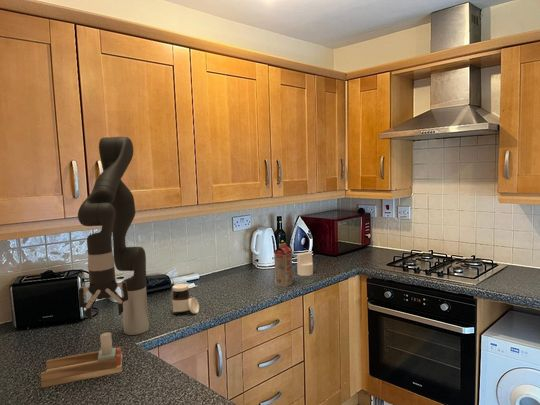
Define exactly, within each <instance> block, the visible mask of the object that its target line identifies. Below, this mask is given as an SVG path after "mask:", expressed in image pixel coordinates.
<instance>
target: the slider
mask: <svg viewBox="0 0 540 405" xmlns="http://www.w3.org/2000/svg"><path fill="white" fill-rule="evenodd" d="M99 337H100V338H99V339H100V349H99V350H98V351H99V355H98V361H103V360H109V359H114V358H116V348H117V347H113V342H112V333H111V332H103V333H101V334H100V335H99Z"/></svg>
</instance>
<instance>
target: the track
mask: <svg viewBox="0 0 540 405" xmlns="http://www.w3.org/2000/svg"><path fill="white" fill-rule="evenodd" d="M98 355H99V350H97V351H91V352H85V353H79V354H74V355H67V356H62V357H58V358H57V357H56V358H52V359H46V361H45V364H46V365H45V366H46V370H44V371H41V372H40V378H41V380H40V381H41V382H40V383H41V388H47V387H53V386H58V385H63V384H68V383H73V382H77V381H83V380H88V379H93V378H99V377H102V376H103V377H104V376H108V375H115V374H118V373H122V372H123V353H122V350H121V346H119V347H116V358H114V359H109V360H103V361H98Z"/></svg>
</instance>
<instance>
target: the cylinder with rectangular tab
mask: <svg viewBox="0 0 540 405" xmlns="http://www.w3.org/2000/svg"><path fill="white" fill-rule="evenodd" d="M296 256H297V257H296V260H297V263H296V268H297V271H296V272H297V275H298V276H301V277H302V276H303V277H308V276H312V275H314V263H313V252H310V251H307V252H300V253H297V255H296Z"/></svg>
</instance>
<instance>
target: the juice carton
mask: <svg viewBox="0 0 540 405" xmlns="http://www.w3.org/2000/svg"><path fill="white" fill-rule="evenodd" d="M292 252H293V250H292V248H291V247H289V246H287V242H283V243H281V244H278V248H276V249H275V250H274V251H273V253H274V254H273V255H274V256H273V257H274V277H275V278H274V279H275V281H274V283H275V284H274V286H279V287H284V288H287V287H289V286H291V285H293V284H294V283H293V254H292Z"/></svg>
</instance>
